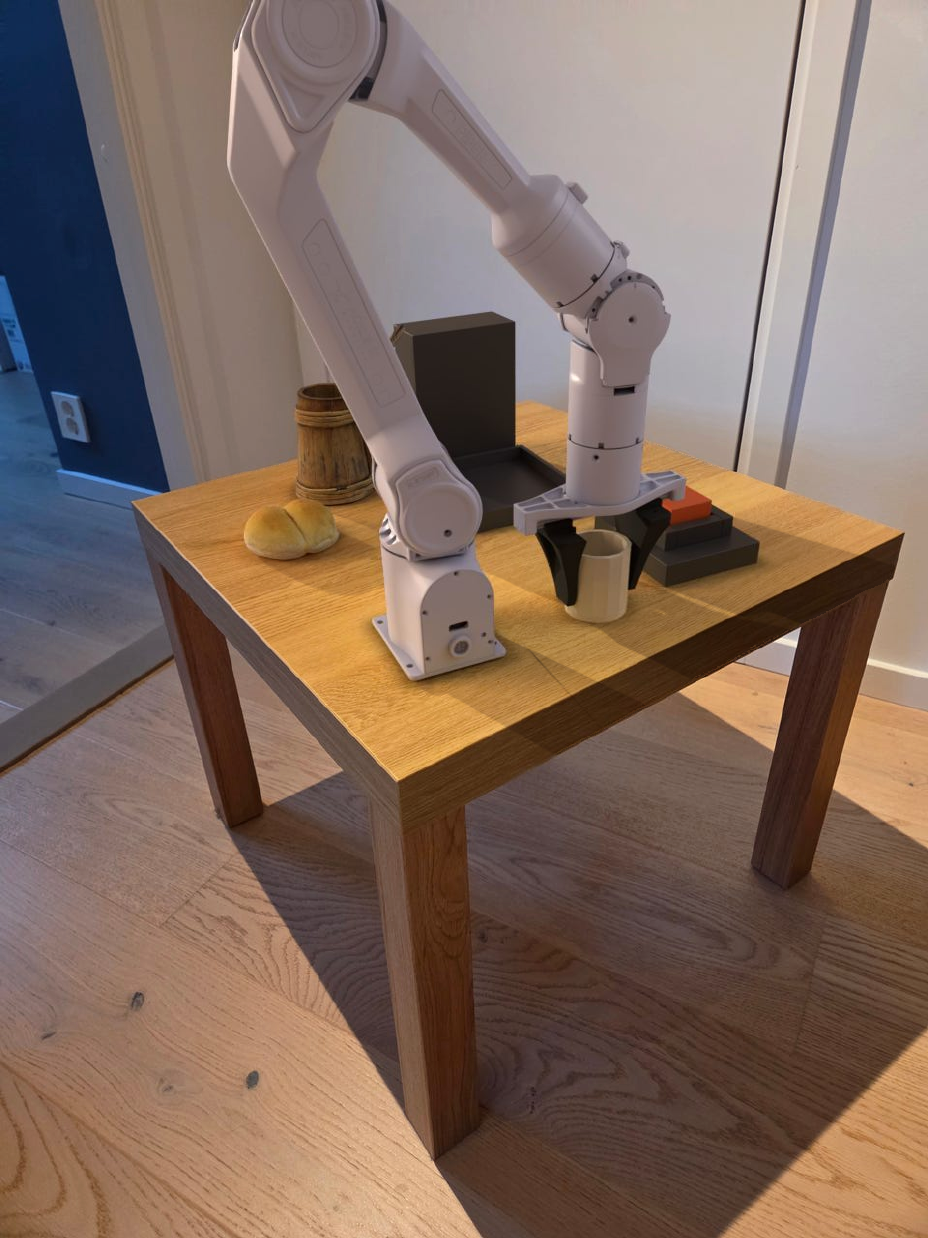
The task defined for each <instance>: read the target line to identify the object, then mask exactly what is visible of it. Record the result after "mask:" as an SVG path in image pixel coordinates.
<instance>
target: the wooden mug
mask: <svg viewBox="0 0 928 1238" xmlns="http://www.w3.org/2000/svg"><path fill="white" fill-rule="evenodd" d="M400 324H401V323H400ZM404 330H405V328H404V326H403V324H401V325H400V326H398V327H397V328H395V329H394V328H393V331H392V333H391V335H390V336H389V339H390V341H391V343H392V345H393V347H394V348H395V345H396V344H397V342H398V341H399V339H400V337H401V335H402V333H403V332H404ZM296 399H297V403H296V404H295V406H294V421H295V422H296V423H297V425H296V426H297V475H296V477H295V495H296V497H297V499H311V500H316V501H318V502H320V503H322V504H323V505H324V506H332V505H343V504H348V503H349V504H350V503H353V502H356V501H359V500H362V499H364V498H366V497H367V496H369V495H371V494H372V493H373V492H374V490H376V489H375V486H374V483H373V478H372V466H373V461H372V456H371V453H370V450H369V448H368V446H367V444H366V442H365V440H364V438H363V436H362V434H361V432H360V430H359V428H358V426H357V424H356V422H355V420H354V418H353V416H352V414H351V412H350V410H349V409H348V407H347V405H346V403H345V401H344V399H343V397H342V395H341V393H340V391H339V389H338V387H337V385H336V383H335V382H321V383H319V382H318V383H313V384H310V385H306V386H303V387H300V388H299V389H298V390H297V391H296Z"/></svg>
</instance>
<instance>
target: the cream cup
mask: <svg viewBox="0 0 928 1238" xmlns="http://www.w3.org/2000/svg"><path fill="white" fill-rule="evenodd" d="M576 533H577V534H578V535H579V536H581V537H582V538H583V539H585V540H586V541H587V543H586V546H585V548H584V551H583V554H582V557H581V561H580V566H579V571H578V589H577V599H576V603H575V605H573V606H569V607H568V606H566V605H565V604H564V603H563V605H564V610H565V612H566V613H567V614H568V615H569V616H570V617H572V618H574V619H576V620H578V621H582V622H587V623H593V624H601V623H602V624H603V623H609V622H613V621H616V620H618V619H621V618H622V617H623V616H624V615H625V614H626V611H627V608H628V607H627V606H628V598H629V590H628V587H629V574H630V562H631V549H632V543H631V541H630V540H629V539H628V538H627V537H626V536H624V535H622V534H620V533H618V532H614V531H609V530H602V529H599V530H594V529H586V530H582V531H581V530H580V531H576Z"/></svg>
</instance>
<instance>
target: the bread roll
mask: <svg viewBox="0 0 928 1238" xmlns="http://www.w3.org/2000/svg"><path fill="white" fill-rule="evenodd" d="M335 520H336V519H335V517H334V513H333V512H332V511H331V510H330V509H329V507H328V506H326V505H323V504H322V503H320V502H318V501H316V500H311V499H299V498H296V499H294V500H292V501H290V502H288V503H287V504H286V505H285V506H283V507H278V506H265V507H261V508H260V509H258V510H256V511H255V512H253V514H251V516H250V517H249V518H248V520H247V522H246V524H245V526H244V531H243V539H244V544H245V545H246V548H248V550H249V551H250V552H251V553H253V554H255V555H257V556H259V557H264V558H267V559H272V560H278V561H279V560H280V561H281V560H282V561H286V560H287V561H288V560H293V559H295V560H296V559H300V558H302V557H303V556H305V555H306V554H317V553H320V552H323V551H325V550H327V549H329V548H331V547H332V546H333V545H334V544H335V543H336V542H337V540H338V539H339V537H340V532H339V530H338V528H337V526H336V521H335Z"/></svg>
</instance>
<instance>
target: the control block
mask: <svg viewBox="0 0 928 1238" xmlns="http://www.w3.org/2000/svg"><path fill="white" fill-rule="evenodd" d="M593 524H594V525H593V530H599V529H602V530H609V531H614V532H616V525H615V517H614V515H611V516H594V523H593ZM733 524H734V516H733V515H732V514H730V513H728V512H727V511H725V510H723V509H721V508H720V507H717V506H716V505H715V504H713V503H712V505H711V512H710V516H707V517H702V518H698V519H694V520H690V521H686V522H682V523H678V524H673V525H669V527H668V528H667V529H666V530H665V531H664V532H663V534H662V535H661V536H660V538H659V539H658V541H657V542H656V544H655V545H654V547H653V548H652V550H651V552H650V554H649V556H648V558H647V560H646V563H645V565H644V567H643V570H642V572H643V573H645V574H646V575H648V576H649V577H651V578H652V579H653V580H654V581H655V582H656V583H658V584H659V585H661V586H663V587H664V588H668V587H672V586H673V587H674V586H676V585H679V584H684V583H687V582H691V581H694V580H699V579H703V578H705V577H709V576H714V575H717V574H720V573H725V572H728V571H732V570H736V569H740V568H743V567H746V566H751V565H754V564H757V563H758V562H757V561H758V557H759V550H760V544H761V542H760V541H759V540H758V539H756V538H755V537H753V536H751V535H749V534H748V533H746V532H744V531H743V530H741V529H739V528H738V527H736V526H734V525H733Z"/></svg>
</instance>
